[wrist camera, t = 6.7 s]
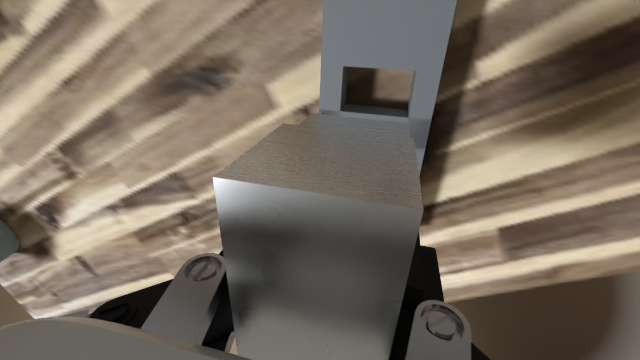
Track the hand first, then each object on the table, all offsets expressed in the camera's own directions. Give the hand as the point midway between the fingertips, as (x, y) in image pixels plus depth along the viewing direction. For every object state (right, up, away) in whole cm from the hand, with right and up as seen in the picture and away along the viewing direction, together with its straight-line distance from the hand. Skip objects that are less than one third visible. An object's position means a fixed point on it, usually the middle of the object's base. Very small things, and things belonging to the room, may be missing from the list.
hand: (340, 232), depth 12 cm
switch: (+4, +8, +15) cm, 17 cm away
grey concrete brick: (+1, +1, +2) cm, 3 cm away
